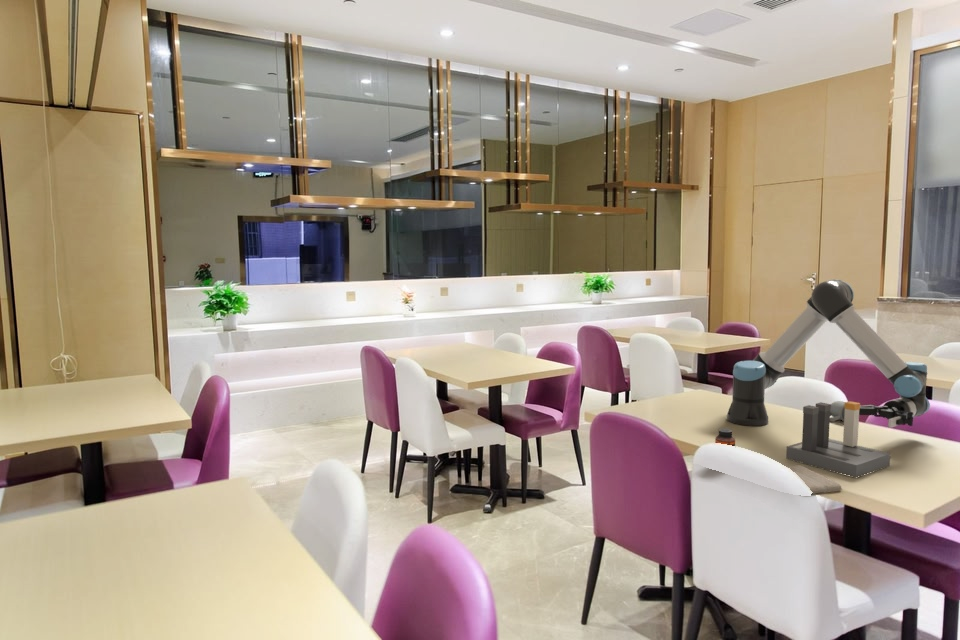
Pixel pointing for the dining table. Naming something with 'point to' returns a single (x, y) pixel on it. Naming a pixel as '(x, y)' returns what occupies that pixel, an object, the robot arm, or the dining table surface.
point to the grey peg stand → (832, 447)
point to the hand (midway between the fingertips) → (867, 418)
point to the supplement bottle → (725, 437)
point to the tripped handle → (851, 423)
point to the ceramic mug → (837, 411)
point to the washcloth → (815, 480)
